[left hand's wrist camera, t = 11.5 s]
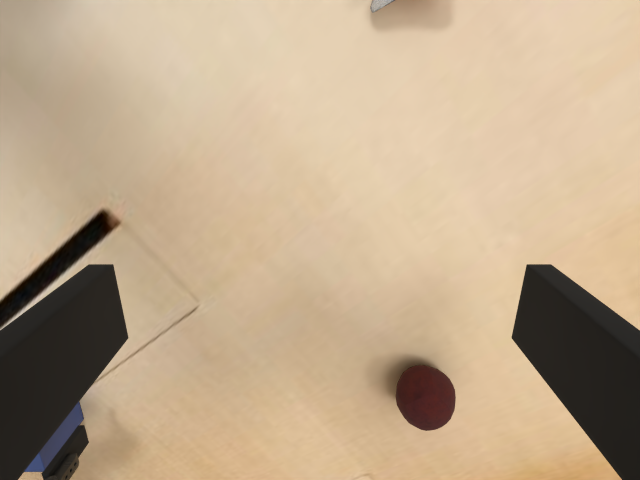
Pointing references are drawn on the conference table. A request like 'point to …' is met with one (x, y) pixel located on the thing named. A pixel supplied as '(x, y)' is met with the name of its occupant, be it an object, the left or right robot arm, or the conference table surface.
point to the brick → (56, 441)
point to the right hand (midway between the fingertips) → (28, 433)
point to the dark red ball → (425, 397)
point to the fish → (379, 4)
